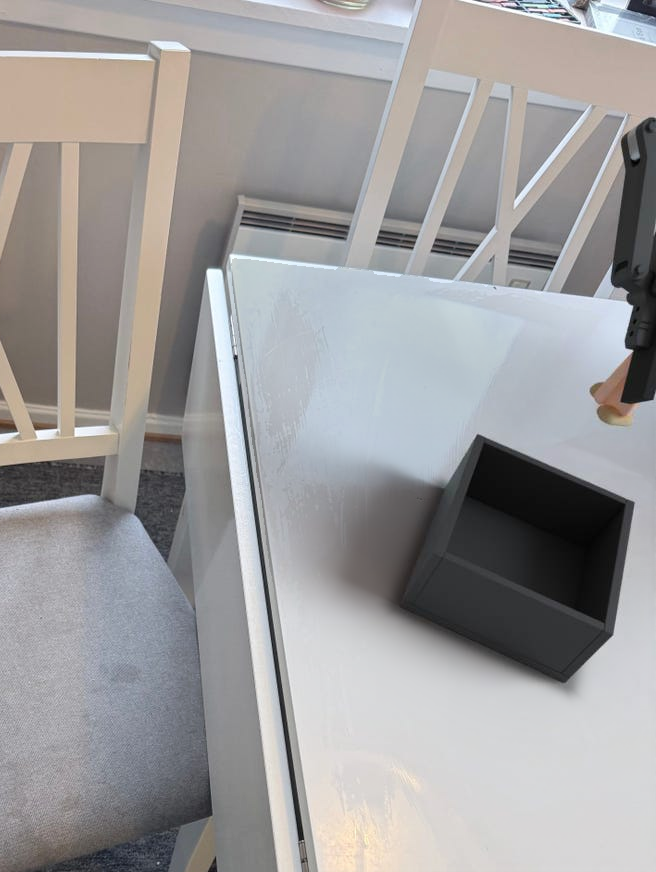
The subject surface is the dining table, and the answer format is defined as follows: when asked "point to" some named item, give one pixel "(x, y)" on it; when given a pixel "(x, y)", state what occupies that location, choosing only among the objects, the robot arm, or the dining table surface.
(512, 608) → the bin
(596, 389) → the grandmother figurine
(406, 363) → the dining table surface
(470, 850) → the dining table surface
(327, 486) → the dining table surface
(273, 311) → the dining table surface
